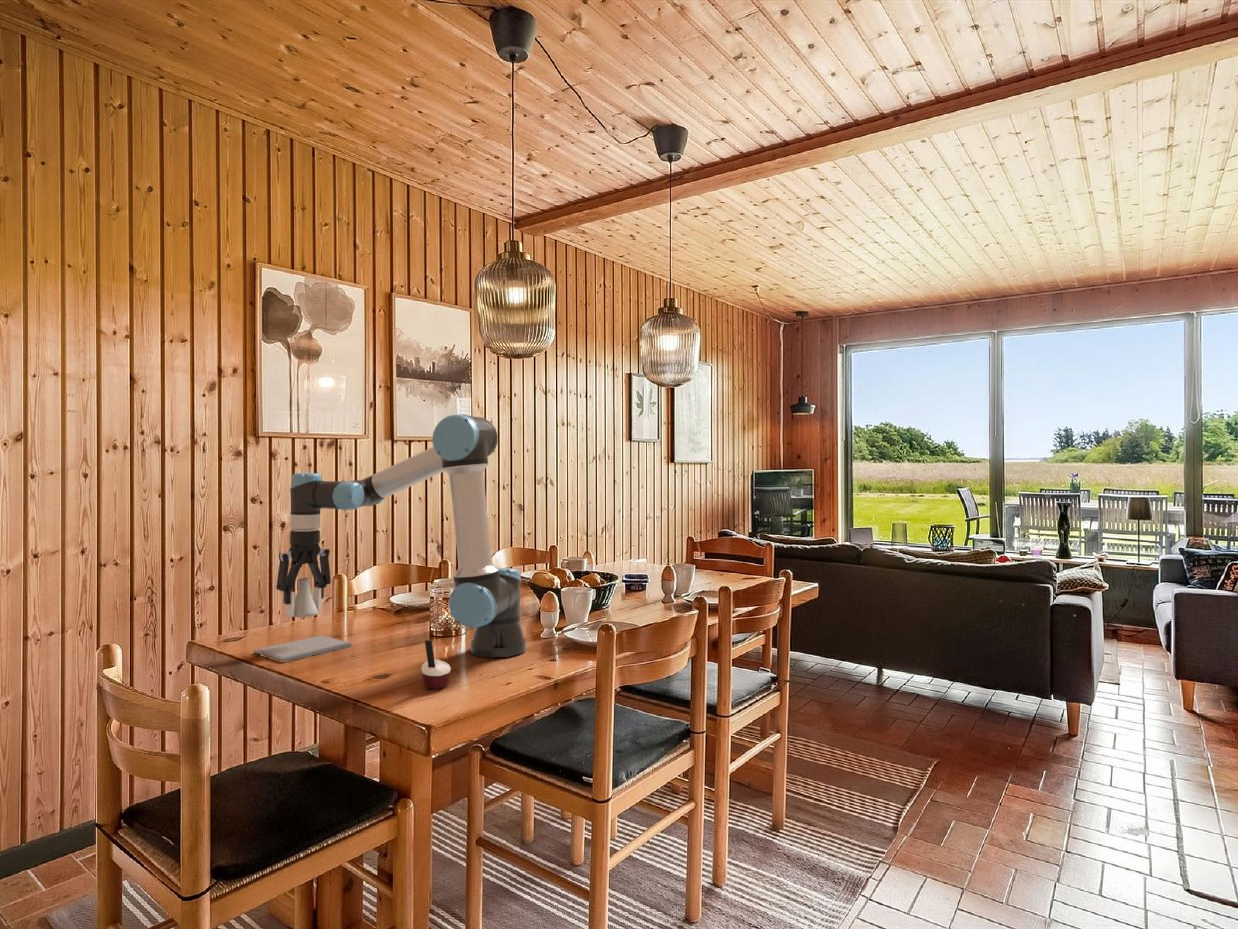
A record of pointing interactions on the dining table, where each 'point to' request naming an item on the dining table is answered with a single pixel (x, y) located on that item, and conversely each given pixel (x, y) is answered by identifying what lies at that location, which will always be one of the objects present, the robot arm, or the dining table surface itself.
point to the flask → (304, 600)
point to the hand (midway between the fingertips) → (303, 613)
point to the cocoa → (434, 670)
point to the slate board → (303, 648)
